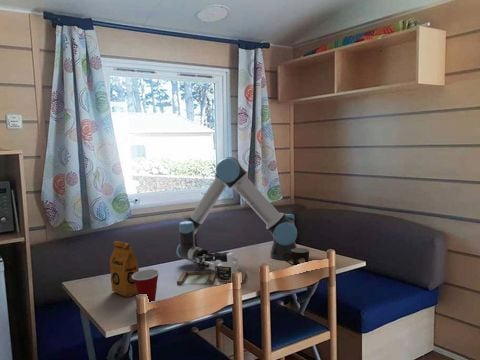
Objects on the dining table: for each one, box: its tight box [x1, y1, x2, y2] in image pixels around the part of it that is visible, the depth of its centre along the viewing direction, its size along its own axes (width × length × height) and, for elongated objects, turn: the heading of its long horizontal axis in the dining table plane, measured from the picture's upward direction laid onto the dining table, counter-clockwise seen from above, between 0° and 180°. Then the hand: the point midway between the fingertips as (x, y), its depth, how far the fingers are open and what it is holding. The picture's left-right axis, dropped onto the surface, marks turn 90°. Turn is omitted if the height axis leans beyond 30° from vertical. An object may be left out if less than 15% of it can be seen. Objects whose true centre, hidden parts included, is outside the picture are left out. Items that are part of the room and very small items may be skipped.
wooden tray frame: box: [176, 269, 246, 286], centre depth 192 cm, size 30×14×2 cm, turn 87°
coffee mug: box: [283, 247, 310, 266], centre depth 199 cm, size 12×9×10 cm
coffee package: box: [109, 240, 140, 298], centre depth 177 cm, size 10×12×22 cm
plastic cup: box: [132, 268, 160, 302], centre depth 166 cm, size 11×11×12 cm
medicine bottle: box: [216, 251, 238, 282], centre depth 191 cm, size 7×7×12 cm
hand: (226, 263), depth 190 cm, fingers open, 13 cm apart
